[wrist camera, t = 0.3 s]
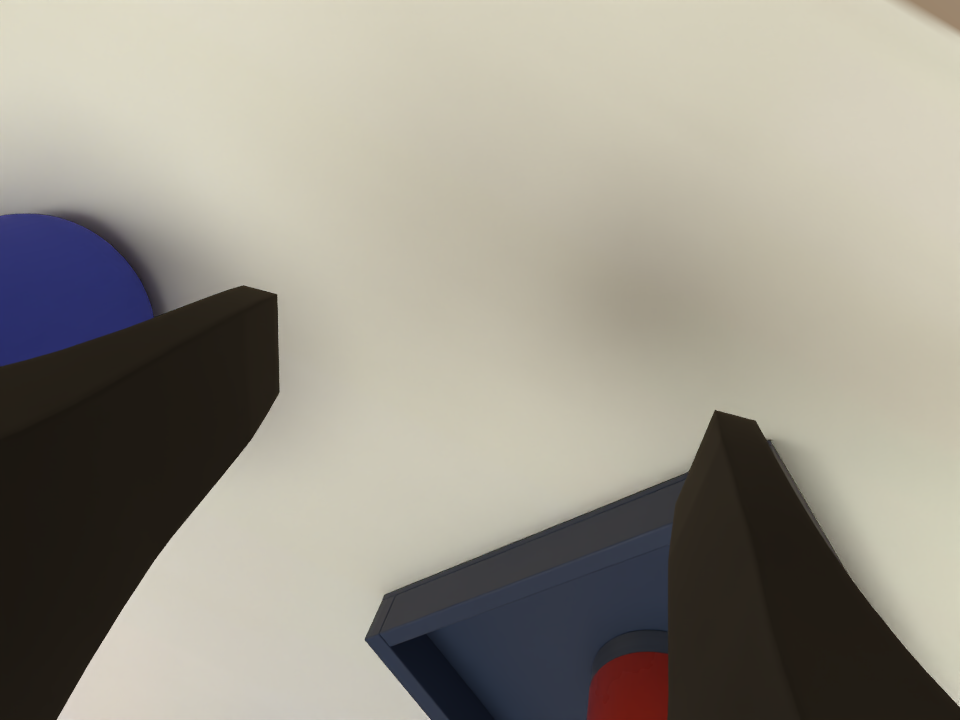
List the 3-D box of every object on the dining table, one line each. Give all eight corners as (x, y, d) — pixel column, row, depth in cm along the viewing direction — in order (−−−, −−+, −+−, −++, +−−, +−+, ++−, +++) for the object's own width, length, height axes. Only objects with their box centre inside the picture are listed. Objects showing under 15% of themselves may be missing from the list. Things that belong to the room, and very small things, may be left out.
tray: (575, 832, 32) (570, 888, 30) (384, 594, 28) (363, 640, 26) (951, 753, 26) (977, 816, 24) (769, 439, 22) (781, 481, 20)
